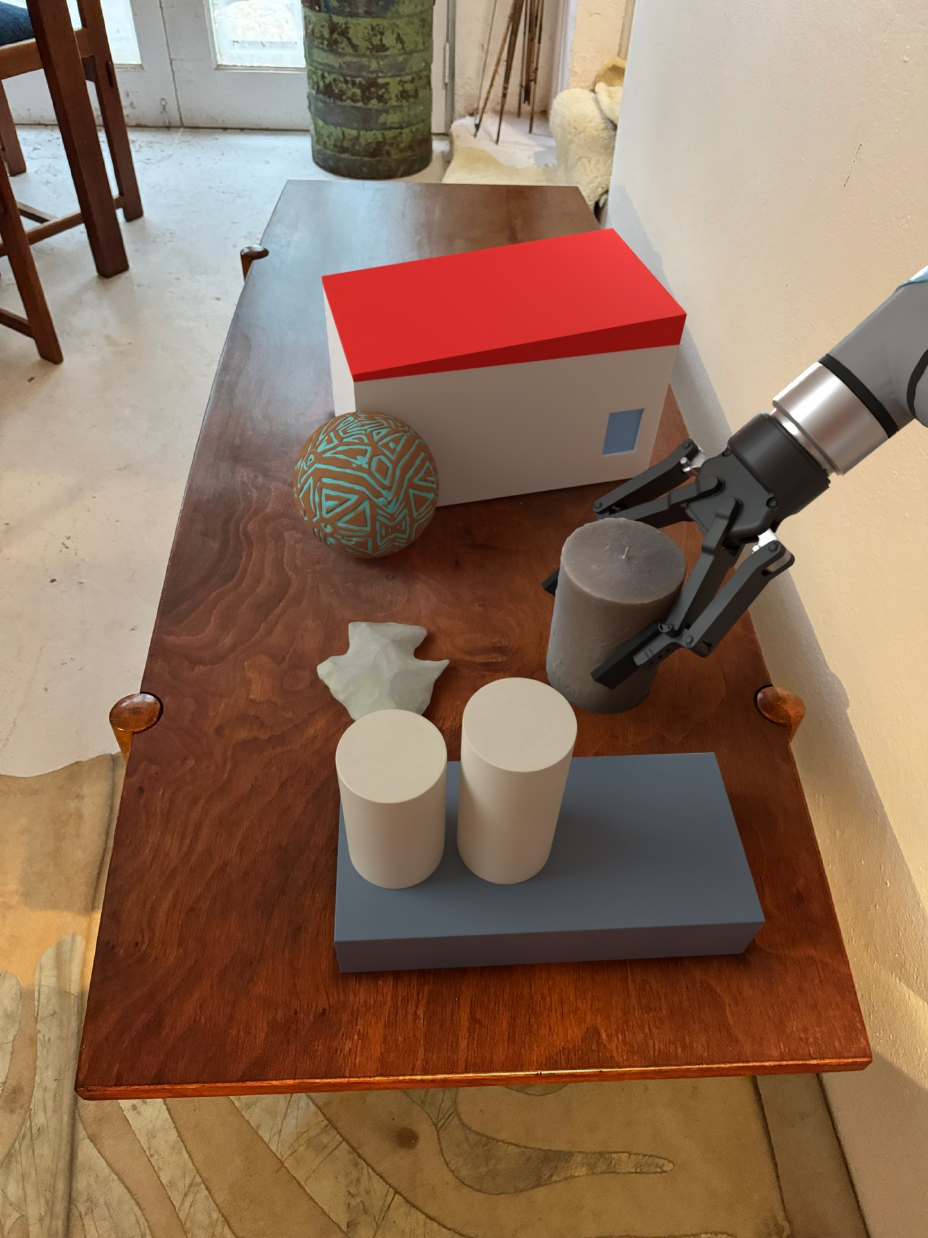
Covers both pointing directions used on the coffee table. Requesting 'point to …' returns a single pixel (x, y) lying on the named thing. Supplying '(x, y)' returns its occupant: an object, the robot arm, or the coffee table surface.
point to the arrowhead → (381, 670)
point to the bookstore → (511, 360)
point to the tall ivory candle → (512, 777)
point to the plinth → (573, 880)
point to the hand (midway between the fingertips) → (575, 635)
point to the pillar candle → (610, 607)
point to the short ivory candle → (393, 796)
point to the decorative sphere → (365, 484)
